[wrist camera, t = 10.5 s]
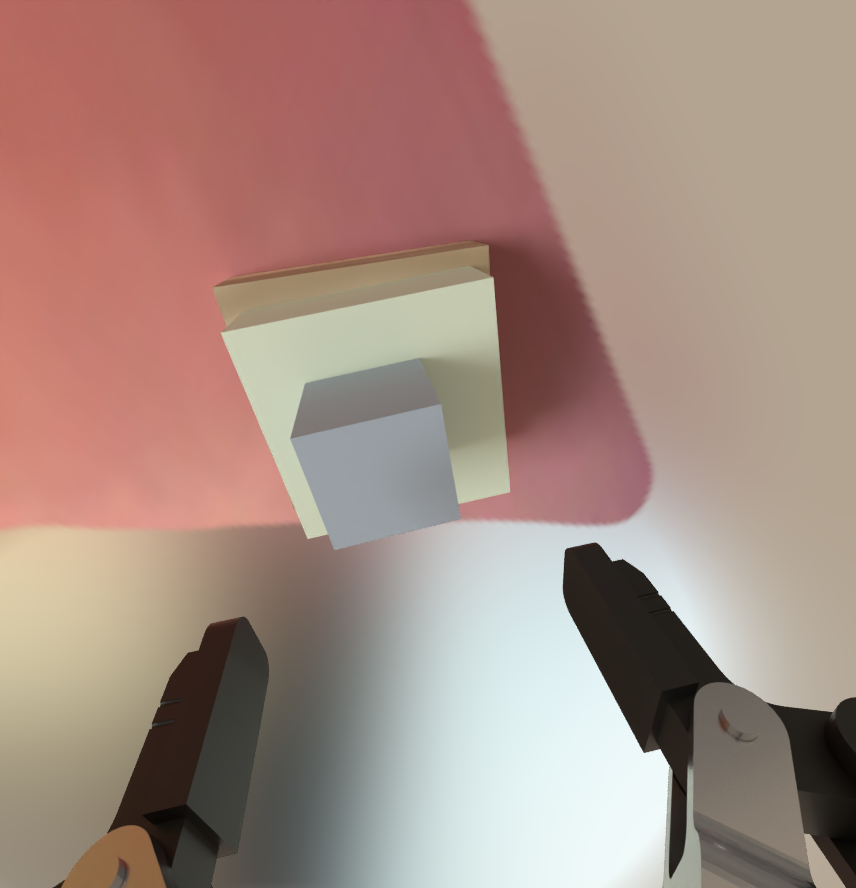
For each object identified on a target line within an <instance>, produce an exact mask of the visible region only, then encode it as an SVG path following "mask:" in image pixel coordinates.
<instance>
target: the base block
mask: <svg viewBox="0 0 856 888" xmlns="http://www.w3.org/2000/svg"><path fill="white" fill-rule="evenodd" d="M465 266H471V267H473V268H476V269H478V270H480V271H482V272H484V273H486V274H488V275H490V265H489V245H486V244H483V243H479V242H475V241H472V240H470V241H463V242H457V243H450V244H443V245H437V246H430V247H424V248H417V249H411V250H404V251H398V252H391V253H384V254H378V255H371V256H365V257H358V258H352V259H345V260H339V261H332V262H325V263H319V264H312V265H306V266H299V267H293V268H286V269H280V270H273V271H266V272H260V273H253V274H247V275H240V276H234V277H230V278H229V279H227V280H225V281H223V282H221V283H220V284H218V285H216V286H214V287H212V288H213V291H214V294H215V297H216V299H217V302H218V305H219V307H220V310H221V313H222V316H223V318H224V321H225V324H226V326H229V325H230V324H231V323H232V322H233V321H234V320H235V319H236V318H237V317H238V316H239V315H240V314H241V313H242V312H244V311H247V310H252V309H257V308H262V307H267V306H272V305H277V304H282V303H287V302H292V301H296V300H301V299H306V298H311V297H316V296H321V295H326V294H331V293H336V292H341V291H346V290H351V289H356V288H361V287H366V286H371V285H376V284H381V283H386V282H391V281H396V280H401V279H406V278H411V277H416V276H421V275H426V274H431V273H436V272H440V271H445V270H450V269H455V268H460V267H465ZM286 489H287V488H286ZM287 492H288V491H287ZM288 494H289V493H288ZM289 497H290V496H289ZM290 500H291V498H290ZM291 503H292V500H291ZM292 505H293V503H292ZM293 508H294V509H295V507H294V505H293Z"/></svg>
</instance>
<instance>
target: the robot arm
mask: <svg viewBox="0 0 856 888" xmlns="http://www.w3.org/2000/svg"><path fill="white" fill-rule="evenodd" d="M563 594H564V599H565V603H566V605H567V608H568V611H569V613H570V615H571V617H572V618H573V621H574V622H575V624H576V626H577V628H578V630H579V632H580V634H581V636H582V637H583V639H584V641H585V643H586V645H587V647H588V649H589V651H590V653H591V654H592V656H593V658H594V660H595V662H596V664H597V666H598V668H599V670H600V671H601V673H602V675H603V677H604V679H605V681H606V683H607V685H608V686H609V688H610V690H611V692H612V694H613V696H614V698H615V700H616V701H617V703H618V705H619V707H620V709H621V711H622V713H623V715H624V717H625V718H626V720H627V722H628V724H629V726H630V728H631V730H632V732H633V733H634V735H635V737H636V739H637V741H638V743H639V745H640V747H641V748H642V750H643V752H644V753H646V752H650V751H654V750H658V749H661V751H662V753H663V755H664V756H665V758H666V760H667V762H668V764H669V765H670V767H669V778H668V800H667V820H666V842H665V862H664V879H663V887H662V888H816V886H815V885H814V882H813V880H812V877H811V873H810V869H809V863H808V856H807V850H806V843H805V837H804V833H806V834H810V835H811V836H812V838H813V839H814V841H815V842H816V844H817V845H818V847H819V848H820V850H821V851H822V853H823V854H824V855H825V857H826V859H827V860H828V861H829V863H830V864H831V866H832V867H833V869H834V870H835V872H836V873H837V875H838V876H839V878H840V879H841V881H842V882H843V884H844V885H845V887H846V888H856V697H855V698H849V699H846V700H844V701H842V702H841V703H840V704H839V705H838V706H837V708H836V709H835V711H834V712H827V711H818V710H809V709H801V708H792V707H784V706H778V705H774V704H770V703H767V702H764V701H763V700H762V699H761V698H759V697H758V696H756V695H755V694H754V693H752V692H750V691H748V690H746V689H744V688H742V687H739V686H737V685H734V684H733V683H732V682H731V681H730V680H729V679H728V678H727V677H726V676H725V675H724V674H723V673H722V672H721V671H720V670H719V668H718V667H717V666H716V664H715V663H714V662H713V661H712V659H711V658H710V657H709V656H708V654H707V653H706V652H705V651H704V650H703V648H702V647H701V645H700V644H699V643H698V642H697V640H696V639H695V638H694V637H693V636H692V634H691V633H690V632H689V630H688V629H687V628H686V627H685V625H684V624H683V623H682V621H681V620H680V619H679V618H678V616H677V615H676V614H675V613H674V611H671V609H670V606H669V605H668V604H667V603H666V601H665V600H664V599H663V598H662V596H659V594H658V591H657V590H656V589H655V587H654V586H653V585H652V584H651V582H650V581H649V580H648V578H647V577H646V576H645V575H644V573H642V572H641V571H639V570H638V569H637V568H635V567H634V566H632V565H631V564H629V563H628V562H626V561H625V560H623V559H622V560H617V561H613V562H612V561H611V560H610V558H609V557H608V555H607V554H606V553H605V551H604V550H603V549H602V547H601V546H600V545H599V544H597V543H590V544H585V545H581V546H576V547H571V548H567V549H566V550H565V558H564V575H563ZM268 678H269V664H268V658H267V655H266V652H265V650H264V648H263V646H262V645H261V643H260V641H259V639H258V637H257V636H256V634H255V632H254V630H253V628H252V626H251V625H250V623H249V621H248V620H247V618H245V617H239V618H234V619H230V620H225V621H220V622H216V623H212V624H210V625H209V626H208V627H207V629H206V631H205V634H204V637H203V639H202V642H201V645H200V648H199V651H194V652H189V653H187V655H186V656H185V657H184V659H183V660H182V661H181V663H180V664H179V665H178V667H177V668H176V669H175V671H174V672H173V673H172V675H171V676H170V678H169V681H168V683H167V686H166V689H165V691H164V694H163V696H162V699H161V702H160V703H161V706H160V707H158V709H157V712H156V714H155V717H154V720H153V722H152V729H150V730H149V732H148V735H147V737H146V740H145V743H144V745H143V748H142V750H141V753H140V755H139V758H138V761H137V763H136V766H135V768H134V771H133V773H132V776H131V779H130V781H129V784H128V786H127V789H126V791H125V794H124V797H123V799H122V802H121V805H120V807H119V810H118V812H117V815H116V817H115V819H114V821H113V823H112V825H111V827H110V829H109V831H108V833H107V834H106V835H105V836H103V837H102V838H101V839H99V840H98V841H97V842H96V843H94V844H93V845H92V846H91V847H90V848H89V849H88V850H87V851H86V852H85V853H84V854H83V856H82V857H81V858H80V859H79V860H78V862H77V863H76V864H75V865H74V867H73V868H72V870H71V871H70V873H69V874H68V876H67V878H66V879H65V880H64V881H62V882H61V883H59V884H58V885H56V886H55V887H53V888H213V886H212V884H211V883H212V879H213V874H214V869H215V864H216V859H217V858H220V857H224V856H229V855H232V854H237V851H238V846H239V841H240V835H241V830H242V824H243V818H244V812H245V807H246V802H247V796H248V790H249V785H250V779H251V773H252V768H253V762H254V757H255V751H256V746H257V740H258V735H259V729H260V724H261V718H262V712H263V707H264V701H265V696H266V690H267V685H268Z"/></svg>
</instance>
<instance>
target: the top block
mask: <svg viewBox="0 0 856 888" xmlns="http://www.w3.org/2000/svg"><path fill="white" fill-rule="evenodd" d="M221 335H222V337H223V339H224V342H225V344H226V346H227V349H228V351H229V354H230V356H231V358H232V361H233V363H234V365H235V368H236V370H237V373H238V375H239V377H240V380H241V382H242V384H243V387H244V389H245V391H246V394H247V396H248V399H249V401H250V403H251V406H252V408H253V410H254V413H255V415H256V417H257V420H258V422H259V425H260V427H261V429H262V432H263V434H264V436H265V439H266V441H267V444H268V446H269V448H270V451H271V453H272V455H273V458H274V460H275V462H276V465H277V467H278V470H279V472H280V474H281V477H282V479H283V481H284V484H285V486H286V488H287V491H288V493H289V496H290V498H291V500H292V503H293V505H294V507H295V510H296V512H297V515H298V517H299V519H300V522H301V524H302V526H303V529H304V531H305V533H306V536H307V538H308V539H309V538H313V537H318V536H322V535H327V534H328V533H327V530H326V528H325V525H324V523H323V520H322V518H321V515H320V513H319V510H318V508H317V505H316V503H315V500H314V498H313V495H312V493H311V490H310V488H309V485H308V483H307V480H306V477H305V475H304V472H303V470H302V467H301V465H300V462H299V460H298V457H297V455H296V452H295V450H294V447H293V445H292V442H291V440H290V437H291V434H292V430H293V426H294V422H295V419H296V415H297V411H298V407H299V404H300V400H301V396H302V393H303V389H304V385H305V383H309V382H313V381H318V380H322V379H327V378H331V377H336V376H340V375H345V374H349V373H353V372H358V371H362V370H367V369H371V368H376V367H380V366H385V365H389V364H394V363H398V362H403V361H407V360H412V359H416V358H420V360H421V362H422V364H423V367H424V369H425V371H426V373H427V375H428V377H429V379H430V382H431V384H432V386H433V388H434V390H435V392H436V395H437V397H438V399H439V401H440V403H441V407H442V413H443V419H444V425H445V430H446V436H447V442H448V447H449V453H450V459H451V465H452V470H453V476H454V482H455V488H456V493H457V499H458V504H461V503H465V502H469V501H474V500H478V499H482V498H487V497H491V496H495V495H500V494H504V493H508V492H510V483H509V470H508V457H507V444H506V432H505V419H504V406H503V393H502V381H501V368H500V355H499V342H498V329H497V317H496V304H495V291H494V278H493V277H492V276H490V275H488V274H486V273H484V272H482V271H480V270H478V269H476V268H473V267H471V266H465V267H460V268H455V269H450V270H445V271H440V272H436V273H431V274H426V275H421V276H416V277H411V278H406V279H401V280H396V281H391V282H386V283H381V284H376V285H371V286H366V287H361V288H356V289H351V290H346V291H341V292H336V293H331V294H326V295H321V296H316V297H311V298H306V299H301V300H296V301H292V302H287V303H282V304H277V305H272V306H267V307H262V308H257V309H252V310H247V311H244V312H242V313H241V314H240V315H239V316H238V317H237V318H236V319H235V320H234V321H233V322H232V323H231V324H230V325H229V326H227V327H226V328H225V329H224V330H223V331H222V332H221Z"/></svg>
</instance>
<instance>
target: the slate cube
mask: <svg viewBox="0 0 856 888" xmlns="http://www.w3.org/2000/svg"><path fill="white" fill-rule="evenodd" d="M290 440H291V442H292V445H293V447H294V450H295V452H296V455H297V457H298V460H299V462H300V465H301V467H302V470H303V472H304V475H305V477H306V480H307V483H308V485H309V488H310V490H311V493H312V495H313V498H314V500H315V503H316V505H317V508H318V510H319V513H320V515H321V518H322V520H323V523H324V525H325V528H326V530H327V533H328V535H329V538H330V540H331V543H332V545H333V548H334V550H337V549H341V548H345V547H349V546H353V545H357V544H362V543H366V542H369V541H374V540H378V539H382V538H386V537H390V536H394V535H398V534H402V533H406V532H411V531H414V530H419V529H423V528H427V527H431V526H435V525H439V524H443V523H447V522H451V521H455V520H459V519H461V516H460V510H459V505H458V499H457V493H456V488H455V482H454V476H453V470H452V465H451V459H450V453H449V447H448V442H447V436H446V430H445V425H444V419H443V413H442V407H441V403H440V401H439V399H438V397H437V395H436V392H435V390H434V388H433V386H432V384H431V382H430V379H429V377H428V375H427V373H426V371H425V369H424V367H423V364H422V362H421V360H420V358H416V359H412V360H407V361H403V362H398V363H394V364H389V365H385V366H380V367H376V368H371V369H367V370H362V371H358V372H353V373H349V374H345V375H340V376H336V377H331V378H327V379H322V380H318V381H313V382H309V383H305V385H304V389H303V393H302V396H301V400H300V404H299V407H298V411H297V415H296V419H295V422H294V426H293V430H292V434H291V437H290Z"/></svg>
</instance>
